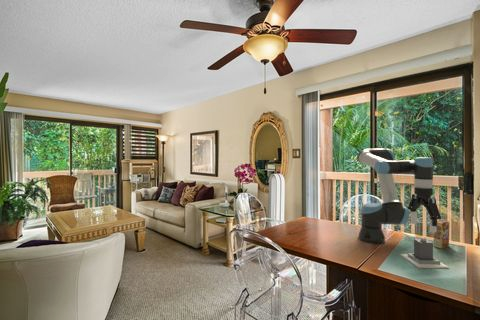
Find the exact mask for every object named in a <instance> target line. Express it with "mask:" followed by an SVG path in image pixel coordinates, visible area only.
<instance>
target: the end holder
mask: <svg viewBox="0 0 480 320" xmlns="http://www.w3.org/2000/svg"><path fill="white" fill-rule="evenodd" d="M400 256H401V257H403V258H404V259H405V260H406V261H408V262H410V263H411V264H413V265H414V266H415V267H417V268H419V269H421V268H423V269H424V268H425V269H450V268H449V267H450V266H448V265H446V264H444V263H443V262H441V260H438V259H437V258H436V257H434V256H433V260H419V259H418V258H416V257H415V256H414V252H413V253H412V252H411V253H409V252H408V253H400Z"/></svg>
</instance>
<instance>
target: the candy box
mask: <svg viewBox="0 0 480 320" xmlns="http://www.w3.org/2000/svg"><path fill="white" fill-rule="evenodd" d="M450 225H451V224H450V221H448V220H443V219H439V220H437V229H436V232H433V248H437V249H443V248H447V247H449V246H450Z"/></svg>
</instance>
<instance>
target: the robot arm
mask: <svg viewBox="0 0 480 320" xmlns="http://www.w3.org/2000/svg"><path fill="white" fill-rule="evenodd" d="M356 159H357V161H358V163H360V164H361V165H364V166H369V167H371V168H372V169H374V170H375V173H376V174H377V175H378V177H377V178H378V180H379V181H378V182H379V186H380V192H381V196H382V199H383V202H382V203H377V202H375V203H374V202H373V203H372V202H369V203H364V204H363V205H362V206H361V211H360V213H361V227H360V229H359V231H358V239H359V240H361V241H362V242H366V243H369V244H384V243H385V242H386V236H385V234H384V231H383V225H393V226H394V225H396V226H400V225H406V224H408V221H409V218H410V224H411V225H417V224H418V209H419V208H420V207H421V206H423V207H424V208H425V209H426V211H427V214H428V215H429V217H430V218H429V233H434V232H436V229H437V221H439V220H442V217H441V213H440V211H439V210H440V209H439V207H438V205H437V199H436V198H431V196H433V194H434V188H433V186H434V183H433V182H434V181H433V180H434V159H433V158H432V157H428V156H427V157H425V156H424V157H415V158H414V160H411V159H407V160H396V156H395V153H394V151H393V150H392V149H390V148H385V147H384V148H383V147H382V148H365V149H364V148H363V149H362V150H359V152H357V156H356ZM393 175H414V179H413V181H414V182H413V183H414V184H413V185H414V187H413V188H414V189H413V190H414V191H413V193H412V194H411V198H410V201H409V204H408V206H407V207H406V206H405V205H403V203H402V201H400V200H399V195H398V191H397V188H396V184H395V180H394V176H393Z"/></svg>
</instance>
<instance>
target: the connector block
mask: <svg viewBox="0 0 480 320" xmlns="http://www.w3.org/2000/svg"><path fill="white" fill-rule="evenodd" d="M433 245H434V242H432V241H430V240H428V239H427V237H424V236H421V237H420V238H413V253H414V256H415V257H416V258H418V259H419V260H433V257H434V246H433Z"/></svg>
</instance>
